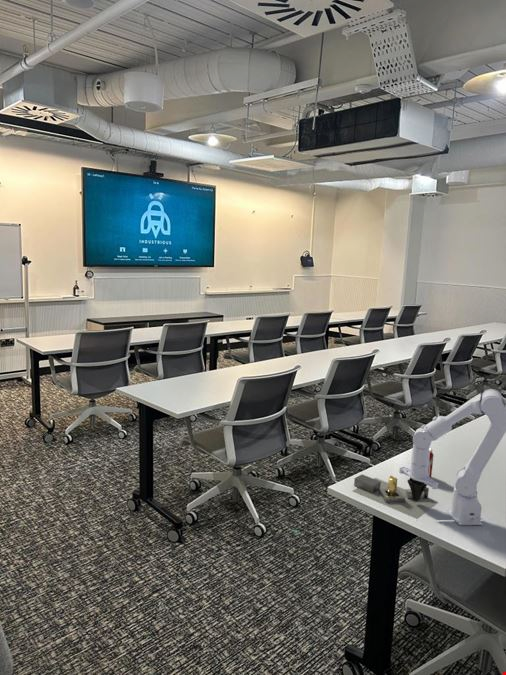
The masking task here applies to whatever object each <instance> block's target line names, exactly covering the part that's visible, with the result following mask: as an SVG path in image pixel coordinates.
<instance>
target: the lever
mask: <svg viewBox="0 0 506 675" xmlns="http://www.w3.org/2000/svg"><path fill="white" fill-rule="evenodd" d="M405 490H406V496H407V498H412V492H411V489H410V488H406V489H405ZM429 492H430V488H429V487H427V486H426V488H425V489H424V491H423V492H422V494H421V497H420V498H428V499H429Z"/></svg>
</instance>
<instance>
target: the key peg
mask: <svg viewBox="0 0 506 675" xmlns="http://www.w3.org/2000/svg"><path fill="white" fill-rule="evenodd" d="M398 480H399V479H398V478H397V477H395V476H393V475H390V476H389V477H388V482H387V483H388V492H387V495H388V496H396V491H397V486H398Z"/></svg>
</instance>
